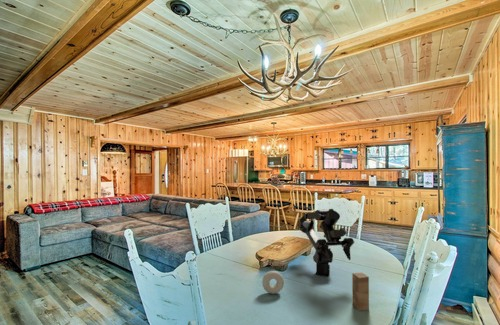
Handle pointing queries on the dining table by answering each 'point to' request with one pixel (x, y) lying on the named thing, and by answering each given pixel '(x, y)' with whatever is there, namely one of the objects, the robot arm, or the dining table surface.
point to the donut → (275, 288)
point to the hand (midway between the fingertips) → (341, 260)
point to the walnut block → (360, 291)
